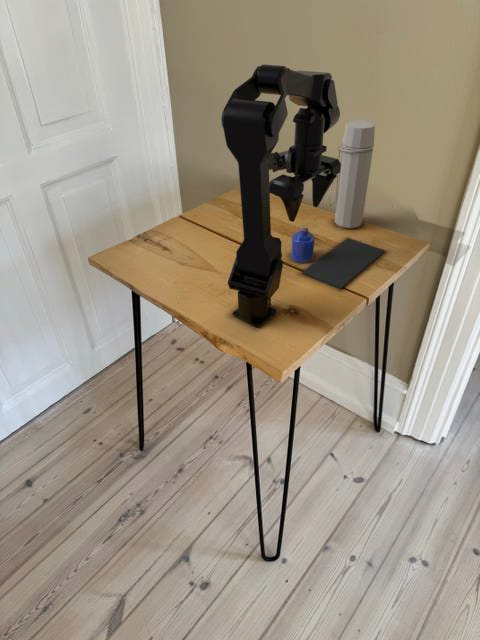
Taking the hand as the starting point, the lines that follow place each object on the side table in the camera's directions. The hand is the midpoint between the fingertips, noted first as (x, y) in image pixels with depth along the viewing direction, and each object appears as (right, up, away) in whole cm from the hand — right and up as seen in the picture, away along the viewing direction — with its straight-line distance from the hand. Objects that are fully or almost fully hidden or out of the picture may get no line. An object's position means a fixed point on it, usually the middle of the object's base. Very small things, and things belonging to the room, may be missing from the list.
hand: (303, 213), depth 102 cm
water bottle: (+13, +2, +20) cm, 24 cm away
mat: (+10, -10, +4) cm, 15 cm away
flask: (+1, -9, +7) cm, 11 cm away
